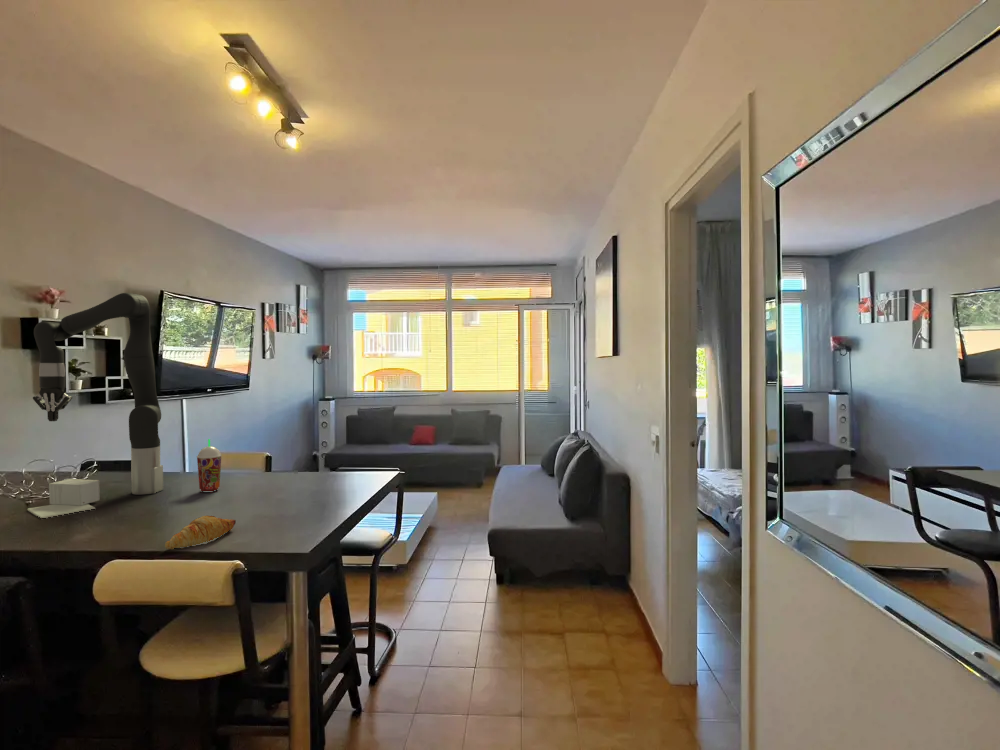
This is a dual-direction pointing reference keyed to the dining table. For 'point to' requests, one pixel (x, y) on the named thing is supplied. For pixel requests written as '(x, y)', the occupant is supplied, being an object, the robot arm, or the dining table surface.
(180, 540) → the croissant
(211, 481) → the smoothie
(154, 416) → the robot arm
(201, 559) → the dining table surface
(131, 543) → the dining table surface
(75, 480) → the supplement box
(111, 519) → the dining table surface
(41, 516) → the topple mat
